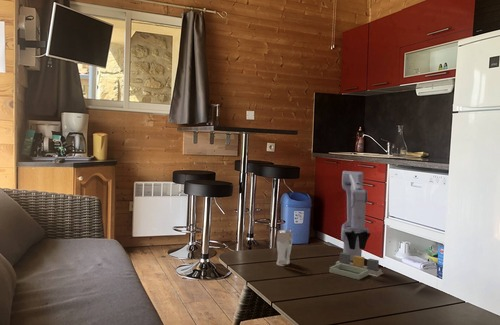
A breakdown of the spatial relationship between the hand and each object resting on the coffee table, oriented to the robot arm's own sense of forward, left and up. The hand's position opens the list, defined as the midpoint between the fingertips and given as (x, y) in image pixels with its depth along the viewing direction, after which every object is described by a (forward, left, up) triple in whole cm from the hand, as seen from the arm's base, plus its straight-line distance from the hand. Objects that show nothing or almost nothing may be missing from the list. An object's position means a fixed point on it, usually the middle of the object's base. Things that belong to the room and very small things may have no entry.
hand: (357, 249), depth 180 cm
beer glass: (+15, -28, -10) cm, 33 cm away
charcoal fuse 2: (-1, +7, -9) cm, 11 cm away
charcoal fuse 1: (-1, -6, -9) cm, 11 cm away
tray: (+8, 0, -10) cm, 13 cm away
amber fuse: (-1, 0, -9) cm, 9 cm away
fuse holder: (-1, 0, -10) cm, 10 cm away
